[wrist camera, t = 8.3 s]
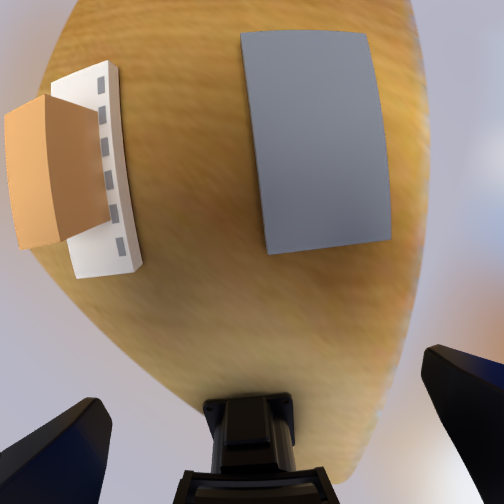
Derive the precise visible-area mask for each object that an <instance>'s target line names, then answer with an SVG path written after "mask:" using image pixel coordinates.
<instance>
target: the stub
mask: <svg viewBox="0 0 504 504" xmlns="http://www.w3.org/2000/svg"><path fill="white" fill-rule="evenodd" d="M5 152H6V166H7V176H8V186H9V194H10V201H11V208H12V214H13V219H14V225H15V230H16V235H17V239H18V243H19V248H20V250H24V249H29V248H34V247H38V246H43V245H48V244H54V243H59V242H62V241H64V240H66V239H67V243H68V248H69V252H70V256H71V260H72V264H73V268H74V272H75V276H76V279H81V278H90V277H98V276H107V275H116V274H124V273H133V272H135V271H136V270H137V269H138V268H139V267H140V266H141V265H142V264H143V263H142V258H141V254H140V249H139V244H138V239H137V234H136V228H135V223H134V217H133V212H132V206H131V199H130V193H129V186H128V179H127V172H126V164H125V156H124V147H123V137H122V126H121V114H120V99H119V77H118V67H117V66H116V65H114V64H113V63H112V62H110V61H109V60H107V61H104V62H101V63H98V64H95V65H93V66H90V67H87V68H85V69H82V70H80V71H77V72H75V73H72V74H70V75H68V76H65V77H63V78H61V79H59V80H56V81H54V82H52V83H51V96H50V95H47V94H44V95H42V96H40V97H37V98H35V99H33V100H31V101H30V102H28V103H26V104H24V105H22V106H20V107H18V108H16V109H15V110H13V111H11V112H9V113H8V114H6V115H5Z"/></svg>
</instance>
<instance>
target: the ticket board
mask: <svg viewBox="0 0 504 504" xmlns="http://www.w3.org/2000/svg"><path fill="white" fill-rule="evenodd" d="M240 38H241V50H242V58H243V65H244V72H245V80H246V87H247V95H248V103H249V110H250V118H251V126H252V134H253V142H254V150H255V158H256V166H257V175H258V183H259V191H260V200H261V208H262V217H263V226H264V235H265V243H266V250H267V253H268V255H273V254H281V253H289V252H297V251H305V250H313V249H321V248H329V247H337V246H345V245H352V244H360V243H368V242H376V241H384V240H391V204H390V185H389V171H388V160H387V149H386V140H385V132H384V125H383V117H382V111H381V104H380V98H379V92H378V87H377V82H376V77H375V72H374V67H373V62H372V58H371V53H370V49H369V45H368V41H367V37H366V34H363V33H353V32H341V31H323V30H277V31H259V32H246V33H240Z"/></svg>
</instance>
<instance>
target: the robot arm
mask: <svg viewBox="0 0 504 504" xmlns="http://www.w3.org/2000/svg"><path fill="white" fill-rule="evenodd" d="M421 377H422V380H423V383H424V385H425V387H426V389H427V391H428V394H429V396H430V398H431V400H432V403H433V405H434V407H435V409H436V412H437V414H438V416H439V418H440V420H441V422H442V424H443V426H444V428H445V429H446V431H447V433H448V435H449V437H450V438H451V440H452V442H453V444H454V445H455V447H456V449H457V451H458V453H459V455H460V456H461V458H462V460H463V462H464V464H465V466H466V468H467V470H468V472H469V474H470V476H471V478H472V480H473V481H474V484H475V485H476V488H477V489H478V492H479V494H480V496H481V498H482V500H483V502H484V504H504V364H501V363H498V362H494V361H491V360H488V359H484V358H481V357H478V356H474V355H471V354H468V353H465V352H462V351H458V350H455V349H452V348H449V347H446V346H442V345H439V344H437V345H434V346H431V347H428V348H427V349H426V350H425V351H424V356H423V363H422V369H421ZM285 399H287V400H286V401H283V400H285ZM209 407H211V408H209ZM203 411H204V414H205V417H206V420H207V423H208V426H209V429H210V432H211V435H212V438H213V441H214V443H213V454H212V467H211V473H200V472H194V471H190V470H185V472H184V475H183V478H182V479H180V482H179V485H178V488H177V491H176V494H175V498H174V501H173V504H340V503H339V500H338V498H337V496H336V494H335V492H334V489H333V487H332V485H331V483H330V480H329V478H328V476H327V474H326V471H325V469H324V467H316V468H314V469H309V470H300V471H296V465H295V459H294V453H293V446H294V445H295V437H294V418H293V401H292V397H291V395H290V394H277V395H269V396H261V397H251V398H241V399H228V400H213V401H206V402H204V404H203ZM111 431H112V419H111V417H110V415H109V413H108V412H107V410H106V408H105V406H104V405H103V403H102V401H101V400H100V399H98V398H92V397H87V398H85V399H83V400H82V401H80V402H78V403H77V404H75V405H74V406H72V407H71V408H69V409H68V410H66V411H65V412H63V413H62V414H60V415H59V416H57V417H56V418H54V419H53V420H51V421H50V422H48V423H46V424H45V425H43V426H42V427H40V428H38V429H37V430H35V431H34V432H32V433H31V434H29V435H27V436H26V437H24V438H23V439H21V440H19V441H18V442H16V443H15V444H13V445H11V446H10V447H8V448H6V449H5V450H3V451H2V452H0V504H98V501H99V497H100V493H101V488H102V484H103V480H104V475H105V471H106V466H107V459H108V452H109V444H110V437H111Z"/></svg>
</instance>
